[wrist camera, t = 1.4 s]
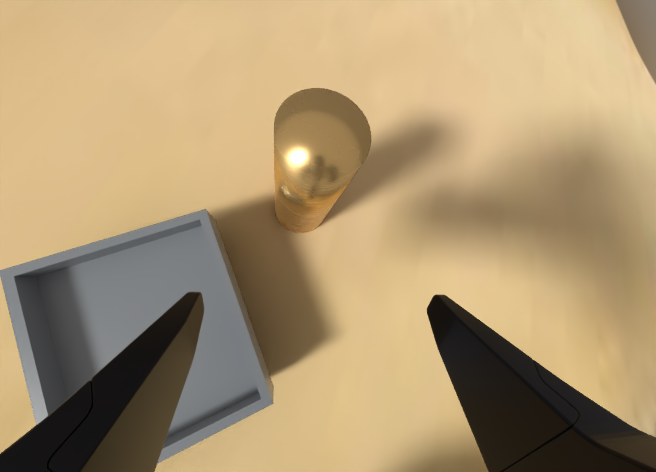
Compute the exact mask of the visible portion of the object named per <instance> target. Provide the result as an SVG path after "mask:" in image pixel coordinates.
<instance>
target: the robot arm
mask: <svg viewBox="0 0 656 472" xmlns="http://www.w3.org/2000/svg"><path fill="white" fill-rule="evenodd" d="M203 315H204V303H203V297H202V293H201V292H188V293H186V294H185V295H184V296H183V297H182V298H180V299H179V300H178V301H177V302H176V303H175V304H174V305H173V306H172V307H170V308H169V309H168V310H167V311H166V312H165V313H164V314H163V315H161V316H160V317H159V318H158V319H157V320H156V321H155V322H154V323H153V324H151V325H150V326H149V327H148V328H147V329H146V330H145V331H144V332H142V333H141V334H140V335H139V336H138V337H137V338H136V339H135V340H133V341H132V342H131V343H130V344H129V345H128V346H127V347H126V348H125V349H123V350H122V351H121V352H120V353H119V354H118V355H117V356H116V357H114V358H113V359H112V360H111V361H110V362H109V363H108V364H107V365H106V366H104V367H103V368H102V369H101V370H100V371H99V372H98V373H97V374H95V375H94V376H93V377H92V378H91V380H89V381H87V382H86V383H85V384H84V385H83V386H82V387H81V388H80V389H79V390H77V391H76V392H75V393H74V394H73V395H72V396H71V397H69V398H68V399H67V400H66V401H65V402H64V403H62V404H61V405H60V406H59V407H58V408H57V409H55V410H54V411H53V412H52V413H51V414H50V415H48V416H47V417H46V418H45V419H43V420H42V421H41V422H40V423H38V424H37V425H36V426H35V427H33V428H32V429H31V430H30V431H29V432H27V433H26V434H25V435H24V436H22V437H21V438H20V439H18V440H17V441H16V442H15V443H13V444H12V445H11V446H10V447H8V448H7V449H6V450H4V451H3V452H2V453H1V454H0V472H154V471H155V468H156V465H157V463H158V460H159V457H160V454H161V451H162V448H163V445H164V442H165V440H166V437H167V434H168V431H169V428H170V425H171V422H172V419H173V417H174V414H175V411H176V408H177V405H178V402H179V399H180V396H181V394H182V391H183V388H184V385H185V382H186V379H187V376H188V373H189V371H190V368H191V365H192V362H193V359H194V355H195V351H196V347H197V342H198V338H199V333H200V329H201V324H202V320H203ZM427 315H428V318H429V321H430V324H431V328H432V331H433V334H434V338H435V341H436V344H437V347H438V350H439V352H440V355H441V357H442V360H443V362H444V365H445V367H446V370H447V372H448V374H449V377H450V379H451V382H452V384H453V386H454V389H455V391H456V394H457V396H458V399H459V401H460V403H461V406H462V408H463V411H464V413H465V416H466V418H467V420H468V423H469V425H470V428H471V430H472V433H473V435H474V437H475V440H476V442H477V445H478V447H479V449H480V452H481V454H482V457H483V459H484V462H485V464H486V466H487V469H488V471H489V472H656V437H653V436H651V435H648V434H646V433H644V432H642V431H640V430H638V429H636V428H634V427H632V426H630V425H629V424H627V423H626V422H624V421H622V420H621V419H619V418H618V417H616V416H615V415H613V414H612V413H610V412H609V411H607V410H606V409H604V408H603V407H601V406H600V405H598V404H597V403H595V402H594V401H592V400H591V399H589V398H588V397H586V396H585V395H583V394H582V393H580V392H579V391H577V390H576V389H574V388H573V387H571V386H570V385H568V384H567V383H565V382H564V381H562V380H561V379H559V378H558V377H557V376H555V375H554V374H552V373H551V372H550V371H548V370H547V369H545V368H544V367H543V366H541V365H540V364H539V363H537V362H536V361H534V360H532V358H530V357H529V356H528V355H526V354H525V353H524V352H522V351H521V350H519V349H518V348H517V347H515V346H514V345H513V344H511V343H510V342H509V341H507V340H506V339H504V338H503V337H502V336H500V335H499V334H498V333H496V332H495V331H494V330H492V329H491V328H489V327H488V326H487V325H485V324H484V323H483V322H481V321H480V320H479V319H477V318H476V317H474V316H473V315H472V314H470V313H469V312H468V311H466V310H465V309H464V308H462V307H461V306H459V305H458V304H457V303H455V302H454V301H453V300H451V299H450V298H448V297H447V296H446V295H434V296H433V298H432V300H431V302H430V304H429V305H428V308H427Z"/></svg>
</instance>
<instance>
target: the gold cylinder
mask: <svg viewBox="0 0 656 472" xmlns="http://www.w3.org/2000/svg"><path fill="white" fill-rule="evenodd" d="M370 146H371V131H370V126H369V124H368V121H367V119H366V117H365V115H364V114H363V112H362V111H361V110H360V108H359V107H358V106H357V105H356V104H355V103H354V102H353V101H351V100H350V99H349V98H347V97H346V96H344V95H342V94H340V93H338V92H335V91H332V90H328V89H322V88H311V89H305V90H301V91H299V92H296V93H294V94H293V95H291V96H290V97H288V98H287V99H286V100H285V101H284V102H283V103H282V105H281V106H280V107H279V109H278V111H277V113H276V117H275V121H274V171H275V213H276V216H277V219H278V220H279V222H280V223H281V224H282V225H283V226H284V227H285V228H286V229H288V230H290V231H293V232H296V233H306V232H309V231H312V230H314V229H315V228H317V227H318V226H319V225H320V224H321V222H322V221H323V219H324V218H325V216H326V215H327V214H328V212H329V211H330V209H331V208H332V206H333V205H334V204H335V202H336V201H337V199H338V198H339V196H340V195H341V193H342V192H343V191H344V189H345V188H346V186H347V185H348V183H349V182H350V181H351V179H352V178H353V176H354V175H355V173H356V172H357V171H358V169H359V168H360V166H361V165H362V163H363V162H364V161H365V159H366V157H367V155H368V153H369V150H370Z"/></svg>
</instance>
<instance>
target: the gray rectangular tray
mask: <svg viewBox="0 0 656 472" xmlns="http://www.w3.org/2000/svg"><path fill="white" fill-rule="evenodd" d="M0 276H1V280H2V284H3V289H4V293H5V297H6V301H7V305H8V309H9V314H10V318H11V322H12V326H13V330H14V334H15V338H16V343H17V347H18V351H19V355H20V359H21V363H22V367H23V372H24V376H25V380H26V384H27V388H28V392H29V397H30V401H31V405H32V409H33V413H34V417H35V421H36V425H37V424H38V423H40V422H41V421H42V420H43V419H45V418H46V417H47V416H48V415H50V414H51V413H52V412H53V411H54V410H55V409H57V408H58V407H59V406H60V405H61V404H62V403H64V402H65V401H66V400H67V399H68V398H69V397H71V396H72V395H73V394H74V393H75V392H76V391H77V390H79V389H80V388H81V387H82V386H83V385H84V384H85V383H86V382H87V381H89V380H91V378H92V377H93V376H94V375H95V374H97V373H98V372H99V371H100V370H101V369H102V368H103V367H104V366H106V365H107V364H108V363H109V362H110V361H111V360H112V359H113V358H114V357H116V356H117V355H118V354H119V353H120V352H121V351H122V350H123V349H125V348H126V347H127V346H128V345H129V344H130V343H131V342H132V341H133V340H135V339H136V338H137V337H138V336H139V335H140V334H141V333H142V332H144V331H145V330H146V329H147V328H148V327H149V326H150V325H151V324H153V323H154V322H155V321H156V320H157V319H158V318H159V317H160V316H161V315H163V314H164V313H165V312H166V311H167V310H168V309H169V308H170V307H172V306H173V305H174V304H175V303H176V302H177V301H178V300H179V299H180V298H182V297H183V296H184V295H185V294H186V293H188V292H201V293H202V297H203V303H204V315H203V320H202V324H201V329H200V333H199V338H198V342H197V347H196V351H195V355H194V359H193V362H192V365H191V368H190V371H189V373H188V376H187V379H186V382H185V385H184V388H183V391H182V394H181V396H180V399H179V402H178V405H177V408H176V411H175V414H174V417H173V419H172V422H171V425H170V428H169V431H168V434H167V437H166V440H165V442H164V445H163V448H162V451H161V454H160V457H159V460H158V463H159V462H161V461H163V460H165V459H167V458H169V457H171V456H173V455H175V454H177V453H179V452H181V451H183V450H184V449H186V448H188V447H190V446H192V445H194V444H196V443H198V442H200V441H202V440H204V439H206V438H208V437H210V436H211V435H213V434H215V433H217V432H219V431H221V430H223V429H225V428H227V427H229V426H231V425H233V424H235V423H237V422H238V421H240V420H242V419H244V418H246V417H248V416H250V415H252V414H254V413H256V412H258V411H260V410H262V409H264V408H266V407H267V406H269V405H271V404H273V387H274V386H273V384H272V381H271V378H270V375H269V372H268V369H267V366H266V364H265V361H264V358H263V355H262V352H261V349H260V346H259V344H258V341H257V338H256V335H255V332H254V329H253V326H252V324H251V321H250V318H249V315H248V312H247V309H246V306H245V304H244V301H243V298H242V295H241V292H240V289H239V286H238V283H237V281H236V278H235V275H234V272H233V269H232V266H231V263H230V261H229V258H228V255H227V252H226V249H225V246H224V243H223V241H222V238H221V235H220V232H219V229H218V226H217V223H216V221H215V219H214V218H213V217H212V216H211V215H210V213H209V212H208V211H207V210H206V209H205V210H201V211H198V212H194V213H191V214H188V215H184V216H181V217H178V218H174V219H171V220H168V221H164V222H161V223H157V224H154V225H151V226H147V227H144V228H141V229H137V230H134V231H131V232H127V233H124V234H120V235H117V236H114V237H110V238H107V239H104V240H100V241H97V242H94V243H90V244H87V245H84V246H80V247H77V248H73V249H70V250H67V251H63V252H60V253H57V254H53V255H50V256H47V257H43V258H40V259H36V260H33V261H30V262H26V263H23V264H20V265H16V266H13V267H10V268H6V269H3V270H0Z"/></svg>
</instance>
